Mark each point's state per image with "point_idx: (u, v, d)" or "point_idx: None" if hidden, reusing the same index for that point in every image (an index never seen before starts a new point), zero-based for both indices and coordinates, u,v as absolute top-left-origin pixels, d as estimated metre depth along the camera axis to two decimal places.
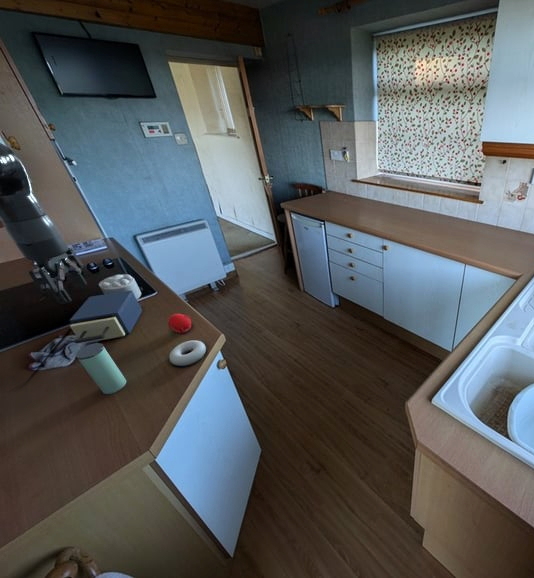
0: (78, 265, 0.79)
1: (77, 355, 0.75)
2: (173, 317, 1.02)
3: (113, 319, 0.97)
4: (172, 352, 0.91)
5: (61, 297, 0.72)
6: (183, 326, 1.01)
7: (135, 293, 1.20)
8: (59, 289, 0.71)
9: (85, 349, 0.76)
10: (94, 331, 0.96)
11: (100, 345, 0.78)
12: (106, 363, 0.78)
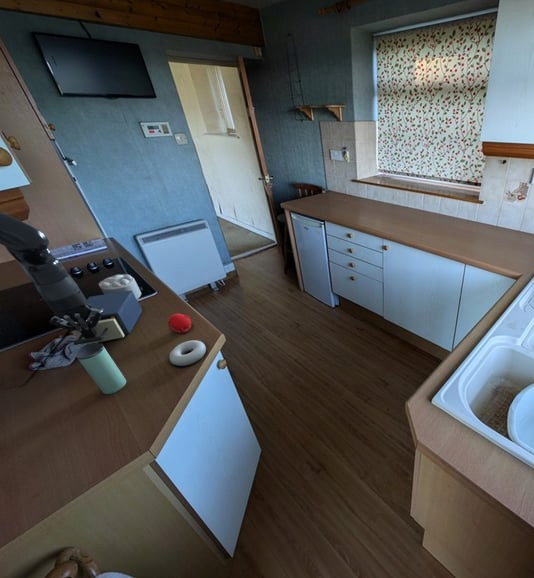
0: None
1: (77, 355, 0.75)
2: (173, 317, 1.02)
3: (112, 320, 0.96)
4: (172, 352, 0.91)
5: (94, 330, 0.93)
6: (183, 326, 1.01)
7: (135, 293, 1.20)
8: None
9: (85, 349, 0.76)
10: None
11: (100, 345, 0.78)
12: (106, 363, 0.78)
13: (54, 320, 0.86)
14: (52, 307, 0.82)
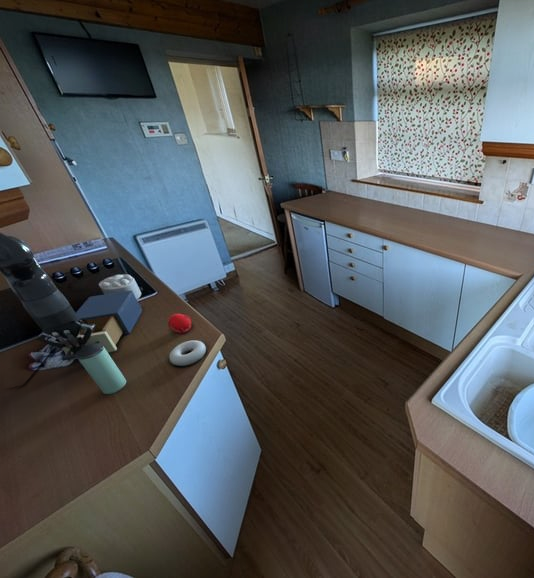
0: None
1: (77, 355, 0.75)
2: (173, 317, 1.02)
3: (104, 333, 0.90)
4: (172, 352, 0.91)
5: None
6: (183, 326, 1.01)
7: (135, 293, 1.20)
8: None
9: (85, 349, 0.76)
10: None
11: (100, 345, 0.78)
12: (106, 363, 0.78)
13: (42, 337, 0.81)
14: (39, 324, 0.77)
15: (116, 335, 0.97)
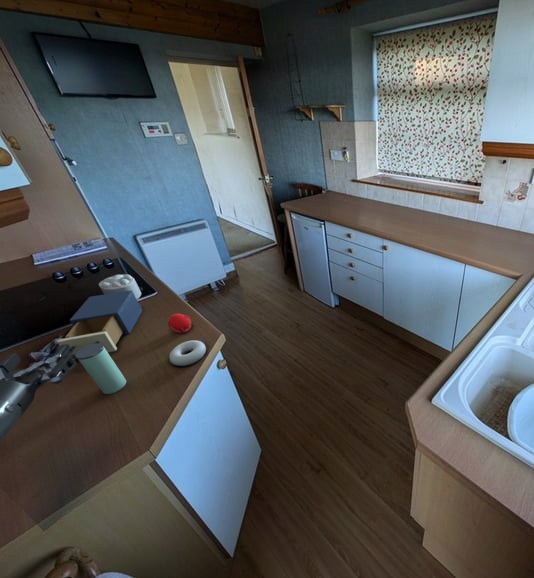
0: None
1: (77, 355, 0.75)
2: (173, 317, 1.02)
3: (104, 333, 0.90)
4: (172, 352, 0.91)
5: (67, 351, 0.62)
6: (183, 326, 1.01)
7: (135, 293, 1.20)
8: (60, 356, 0.60)
9: (85, 349, 0.76)
10: (83, 346, 0.90)
11: (100, 345, 0.78)
12: (106, 363, 0.78)
13: None
14: None
15: (116, 335, 0.97)
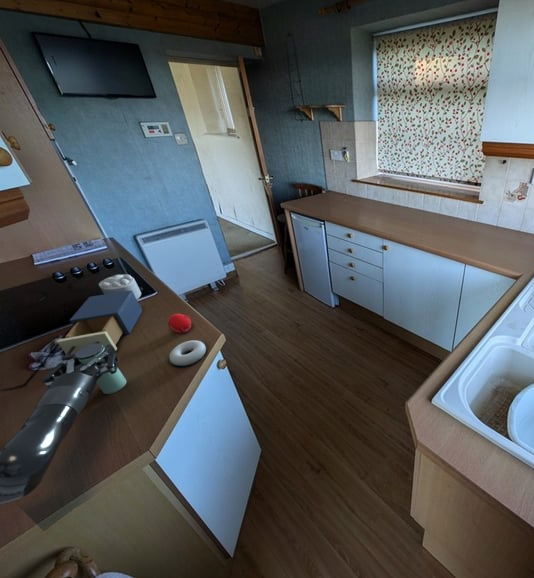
0: (63, 365, 0.73)
1: (77, 355, 0.75)
2: (173, 317, 1.02)
3: (104, 333, 0.90)
4: (172, 352, 0.91)
5: (111, 349, 0.79)
6: (183, 326, 1.01)
7: (135, 293, 1.20)
8: (107, 353, 0.77)
9: (85, 349, 0.76)
10: (83, 346, 0.90)
11: (100, 345, 0.78)
12: None
13: None
14: None
15: (116, 335, 0.97)
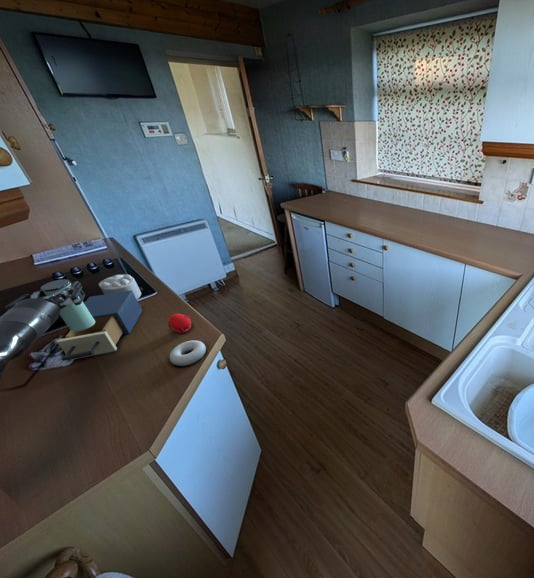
0: (28, 296, 0.74)
1: (42, 288, 0.76)
2: (173, 317, 1.02)
3: (104, 333, 0.90)
4: (172, 352, 0.91)
5: (78, 285, 0.80)
6: (183, 326, 1.01)
7: (135, 293, 1.20)
8: (73, 288, 0.78)
9: (51, 283, 0.78)
10: (83, 346, 0.90)
11: (66, 280, 0.79)
12: None
13: None
14: None
15: (116, 335, 0.97)
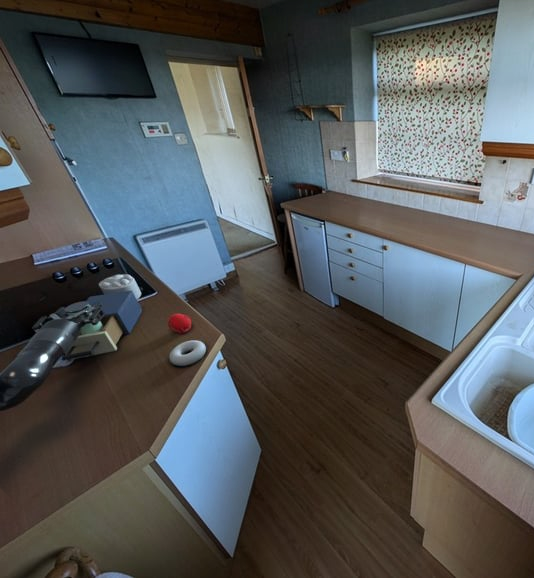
0: (46, 318, 0.85)
1: (66, 309, 0.87)
2: (173, 317, 1.02)
3: (104, 333, 0.91)
4: (172, 352, 0.91)
5: (99, 306, 0.91)
6: (183, 326, 1.01)
7: (135, 293, 1.20)
8: (95, 308, 0.89)
9: (73, 305, 0.89)
10: (83, 346, 0.90)
11: (86, 303, 0.91)
12: None
13: None
14: None
15: (116, 335, 0.97)
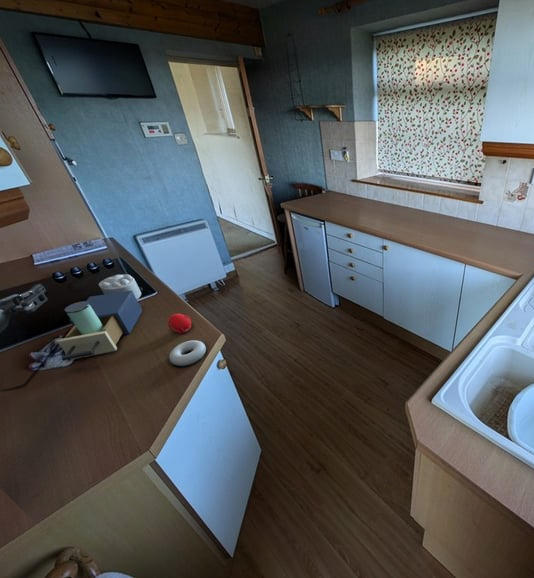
0: None
1: (66, 309, 0.87)
2: (173, 317, 1.02)
3: (104, 333, 0.91)
4: (172, 352, 0.91)
5: (40, 289, 0.71)
6: (183, 326, 1.01)
7: (135, 293, 1.20)
8: (33, 291, 0.69)
9: (73, 305, 0.89)
10: (83, 346, 0.90)
11: (86, 303, 0.91)
12: (91, 318, 0.91)
13: None
14: None
15: (116, 335, 0.97)
